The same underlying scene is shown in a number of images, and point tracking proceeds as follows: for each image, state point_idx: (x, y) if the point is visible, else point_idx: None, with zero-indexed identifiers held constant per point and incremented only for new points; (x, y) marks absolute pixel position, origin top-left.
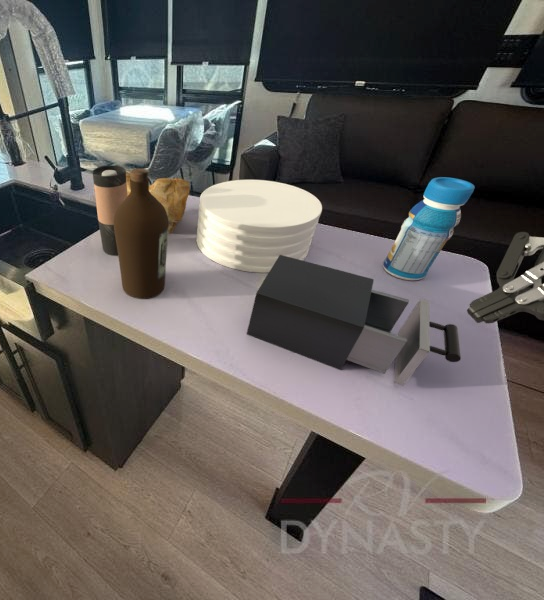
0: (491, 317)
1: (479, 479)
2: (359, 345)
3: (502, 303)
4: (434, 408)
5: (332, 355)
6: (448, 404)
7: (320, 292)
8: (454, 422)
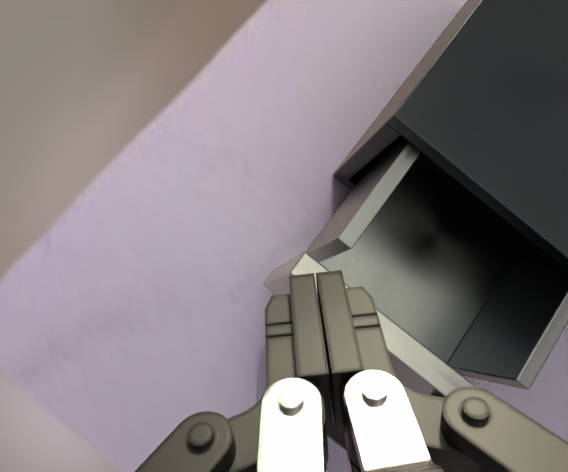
0: (273, 309)
1: (18, 302)
2: (370, 178)
3: (310, 345)
4: (199, 335)
5: (363, 138)
6: (206, 380)
7: (560, 81)
8: (157, 356)
